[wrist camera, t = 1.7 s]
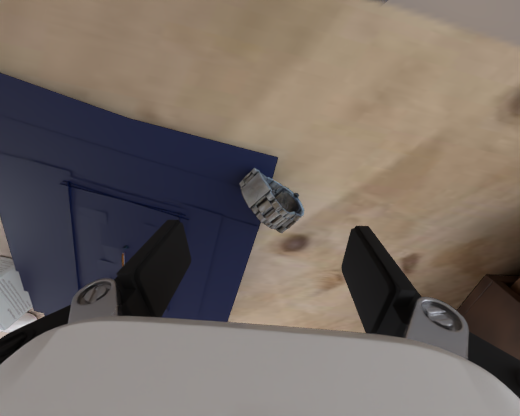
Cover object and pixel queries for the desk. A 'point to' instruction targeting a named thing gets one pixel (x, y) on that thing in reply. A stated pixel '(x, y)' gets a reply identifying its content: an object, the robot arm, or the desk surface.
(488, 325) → the cabinet
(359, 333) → the robot arm
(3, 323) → the small box
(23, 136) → the dark blue flat piece
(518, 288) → the drawer
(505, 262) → the desk surface
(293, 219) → the wristwatch
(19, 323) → the white rounded lump
